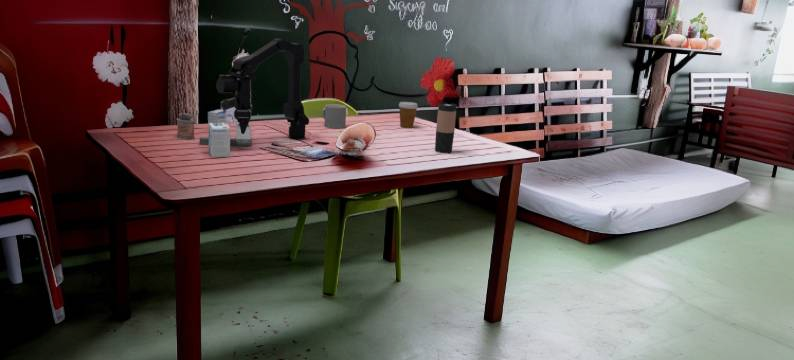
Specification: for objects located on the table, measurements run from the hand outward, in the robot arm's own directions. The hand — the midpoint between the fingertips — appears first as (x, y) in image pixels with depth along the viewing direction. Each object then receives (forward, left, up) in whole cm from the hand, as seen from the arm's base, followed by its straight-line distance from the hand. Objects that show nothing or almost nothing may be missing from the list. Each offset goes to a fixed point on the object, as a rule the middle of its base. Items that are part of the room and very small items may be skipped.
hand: (243, 131), depth 238 cm
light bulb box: (+8, +15, -6) cm, 18 cm away
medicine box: (+12, -26, -6) cm, 29 cm away
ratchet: (+7, 0, -6) cm, 9 cm away
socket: (0, 0, -3) cm, 3 cm away
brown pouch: (+23, -10, -6) cm, 26 cm away
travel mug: (-82, +3, -6) cm, 82 cm away
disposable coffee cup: (-77, -47, -6) cm, 90 cm away
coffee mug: (-40, -44, -6) cm, 60 cm away
